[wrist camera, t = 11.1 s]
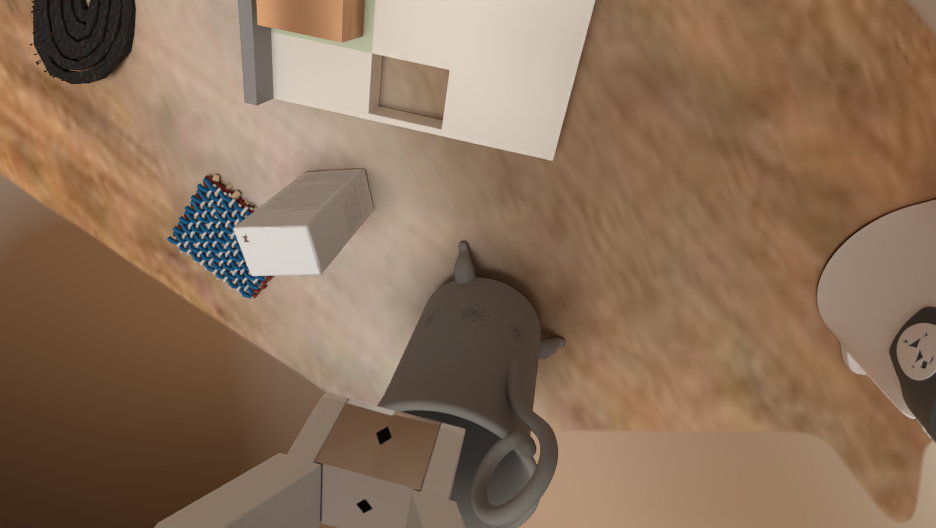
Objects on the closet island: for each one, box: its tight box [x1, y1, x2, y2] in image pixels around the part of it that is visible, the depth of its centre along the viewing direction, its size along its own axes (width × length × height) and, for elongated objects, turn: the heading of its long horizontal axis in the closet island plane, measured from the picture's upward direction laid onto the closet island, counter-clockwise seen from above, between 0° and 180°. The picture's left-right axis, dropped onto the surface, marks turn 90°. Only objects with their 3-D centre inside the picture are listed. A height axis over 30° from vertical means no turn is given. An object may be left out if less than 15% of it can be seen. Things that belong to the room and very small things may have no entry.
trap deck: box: [238, 0, 595, 161], centre depth 36 cm, size 24×18×5 cm
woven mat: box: [167, 175, 272, 298], centre depth 52 cm, size 10×11×2 cm
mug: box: [377, 242, 565, 528], centre depth 40 cm, size 19×15×25 cm
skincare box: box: [233, 169, 373, 276], centre depth 42 cm, size 6×4×12 cm
